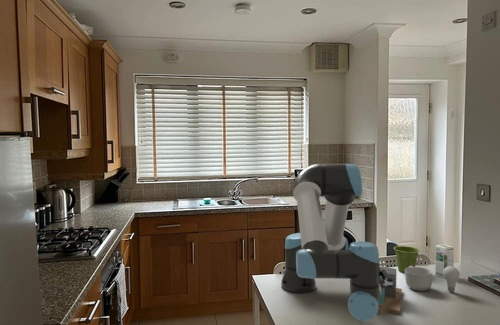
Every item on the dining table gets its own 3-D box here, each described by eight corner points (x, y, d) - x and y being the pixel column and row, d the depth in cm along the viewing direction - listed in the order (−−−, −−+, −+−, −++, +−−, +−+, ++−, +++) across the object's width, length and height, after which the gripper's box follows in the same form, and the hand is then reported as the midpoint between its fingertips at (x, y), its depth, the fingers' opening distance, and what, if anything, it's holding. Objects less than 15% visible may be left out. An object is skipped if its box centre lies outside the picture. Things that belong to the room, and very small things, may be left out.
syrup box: (434, 275, 172) (434, 245, 171) (443, 273, 174) (443, 243, 174) (445, 278, 166) (445, 248, 166) (454, 277, 169) (454, 246, 168)
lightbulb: (458, 290, 152) (458, 265, 152) (460, 296, 147) (460, 269, 146) (442, 288, 155) (442, 263, 154) (443, 293, 149) (443, 267, 149)
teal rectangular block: (369, 302, 135) (369, 270, 134) (373, 289, 147) (373, 260, 147) (384, 304, 133) (384, 272, 132) (386, 290, 145) (386, 261, 145)
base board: (354, 307, 137) (354, 303, 137) (362, 286, 158) (362, 283, 158) (400, 314, 130) (400, 310, 130) (401, 292, 151) (401, 288, 151)
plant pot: (417, 277, 169) (417, 253, 169) (391, 272, 176) (391, 250, 175) (421, 270, 179) (421, 247, 179) (396, 266, 185) (396, 244, 185)
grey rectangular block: (363, 293, 146) (363, 270, 146) (366, 287, 153) (366, 265, 153) (395, 298, 141) (395, 274, 141) (396, 291, 148) (396, 268, 148)
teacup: (435, 294, 149) (435, 275, 149) (407, 292, 151) (407, 273, 151) (425, 282, 163) (426, 264, 162) (400, 280, 165) (400, 263, 165)
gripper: (346, 297, 109) (357, 274, 130) (392, 304, 103) (395, 278, 125) (346, 273, 109) (356, 253, 130) (392, 279, 103) (395, 257, 125)
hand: (375, 266), depth 127 cm, fingers closed
